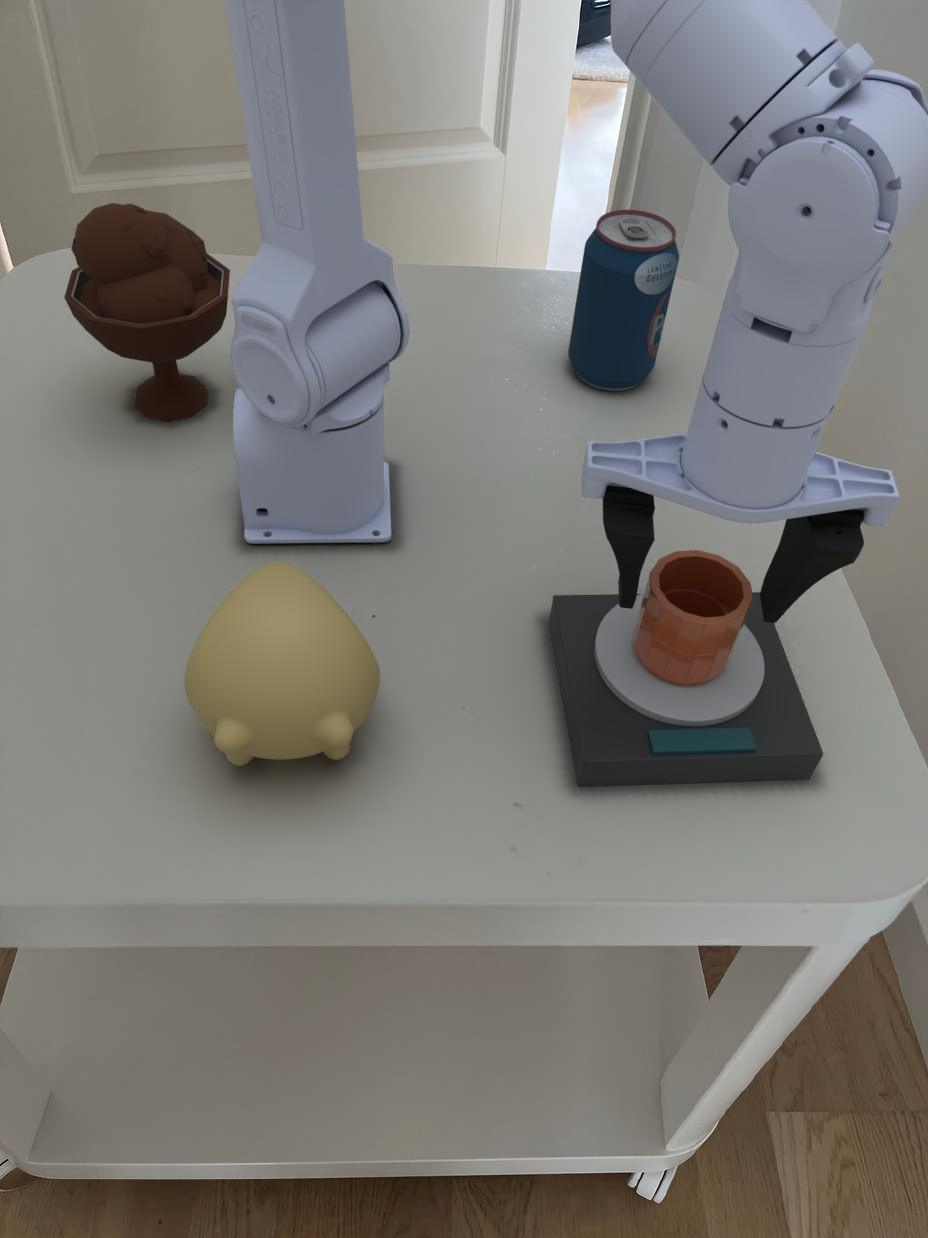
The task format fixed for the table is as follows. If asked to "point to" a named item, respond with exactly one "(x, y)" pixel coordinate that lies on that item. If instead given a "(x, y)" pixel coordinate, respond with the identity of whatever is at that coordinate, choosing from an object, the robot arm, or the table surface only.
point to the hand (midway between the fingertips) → (696, 601)
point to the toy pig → (281, 670)
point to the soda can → (622, 298)
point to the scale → (676, 705)
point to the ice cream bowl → (148, 299)
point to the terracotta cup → (691, 616)
